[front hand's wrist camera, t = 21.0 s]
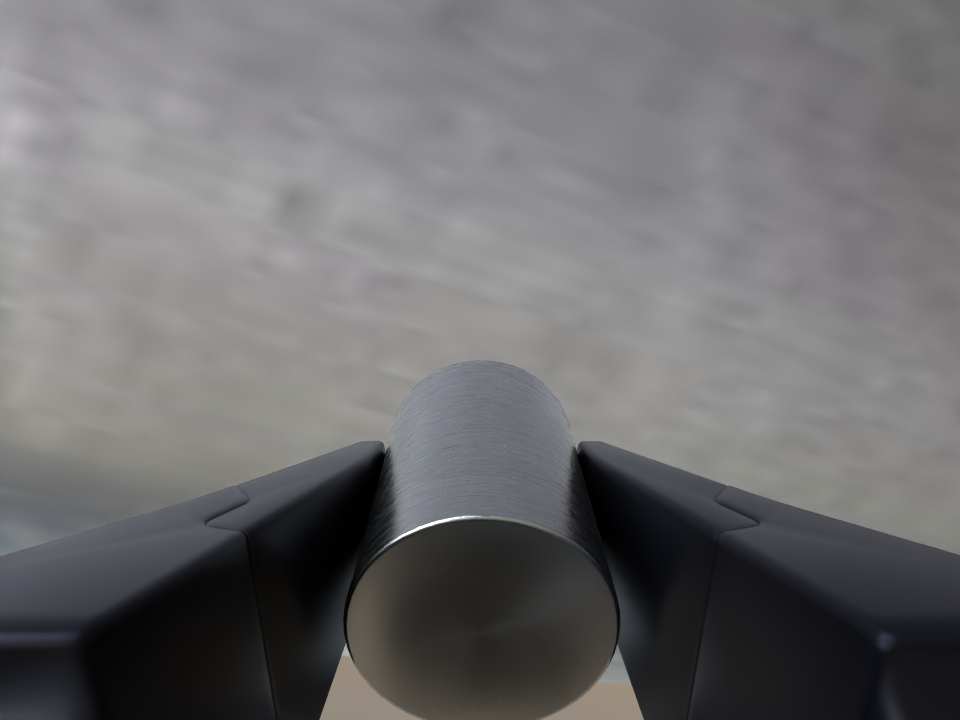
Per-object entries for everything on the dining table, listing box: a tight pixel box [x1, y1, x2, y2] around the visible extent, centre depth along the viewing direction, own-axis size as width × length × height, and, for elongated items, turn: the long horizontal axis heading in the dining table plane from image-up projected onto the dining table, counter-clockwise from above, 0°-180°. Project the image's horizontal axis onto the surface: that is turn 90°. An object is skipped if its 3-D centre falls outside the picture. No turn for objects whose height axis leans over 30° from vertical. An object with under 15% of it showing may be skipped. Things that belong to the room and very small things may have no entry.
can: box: [343, 361, 621, 720], centre depth 10 cm, size 4×4×5 cm
